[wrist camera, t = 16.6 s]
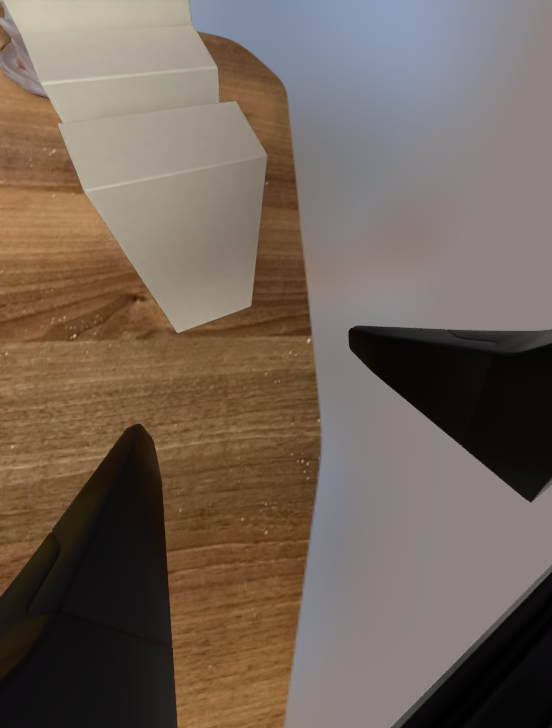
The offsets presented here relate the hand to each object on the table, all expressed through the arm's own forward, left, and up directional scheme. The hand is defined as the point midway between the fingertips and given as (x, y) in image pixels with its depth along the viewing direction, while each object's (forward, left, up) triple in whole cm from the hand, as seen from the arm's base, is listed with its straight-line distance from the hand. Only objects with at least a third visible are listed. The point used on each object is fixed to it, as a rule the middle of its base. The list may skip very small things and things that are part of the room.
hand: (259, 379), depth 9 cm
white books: (+7, -14, -9) cm, 18 cm away
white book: (+4, -8, -9) cm, 13 cm away
